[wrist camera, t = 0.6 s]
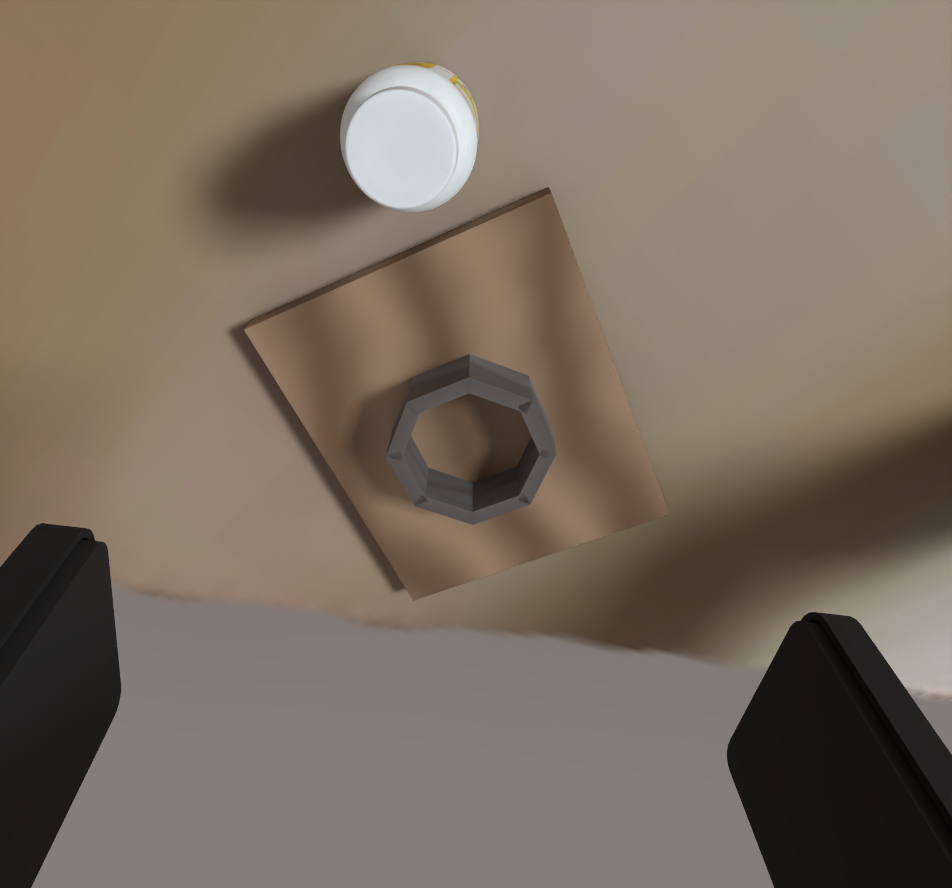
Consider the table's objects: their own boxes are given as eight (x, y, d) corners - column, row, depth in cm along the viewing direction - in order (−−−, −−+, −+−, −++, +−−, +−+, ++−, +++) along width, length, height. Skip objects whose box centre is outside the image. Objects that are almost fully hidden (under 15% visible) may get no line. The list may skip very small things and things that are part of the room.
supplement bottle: (499, 99, 33) (505, 119, 25) (446, 205, 35) (436, 255, 27) (393, 36, 32) (362, 34, 24) (346, 149, 34) (303, 184, 26)
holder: (548, 187, 35) (557, 205, 31) (664, 500, 44) (682, 544, 40) (251, 319, 38) (225, 351, 34) (415, 585, 47) (409, 634, 43)
